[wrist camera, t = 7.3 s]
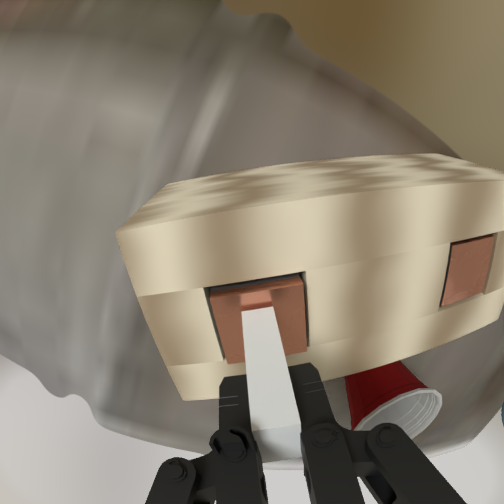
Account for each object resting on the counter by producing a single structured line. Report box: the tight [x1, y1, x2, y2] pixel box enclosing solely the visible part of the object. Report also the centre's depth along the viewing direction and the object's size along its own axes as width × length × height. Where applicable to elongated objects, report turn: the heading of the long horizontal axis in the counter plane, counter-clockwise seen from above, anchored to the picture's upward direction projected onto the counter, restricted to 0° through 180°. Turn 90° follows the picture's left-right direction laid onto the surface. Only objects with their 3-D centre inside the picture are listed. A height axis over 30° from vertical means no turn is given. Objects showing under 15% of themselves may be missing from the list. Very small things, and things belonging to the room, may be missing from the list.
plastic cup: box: [345, 360, 442, 440], centre depth 28 cm, size 11×11×12 cm
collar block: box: [115, 154, 504, 401], centre depth 20 cm, size 26×12×12 cm, turn 98°
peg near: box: [210, 272, 307, 364], centre depth 18 cm, size 4×4×9 cm
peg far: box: [439, 234, 494, 307], centre depth 19 cm, size 4×4×9 cm
